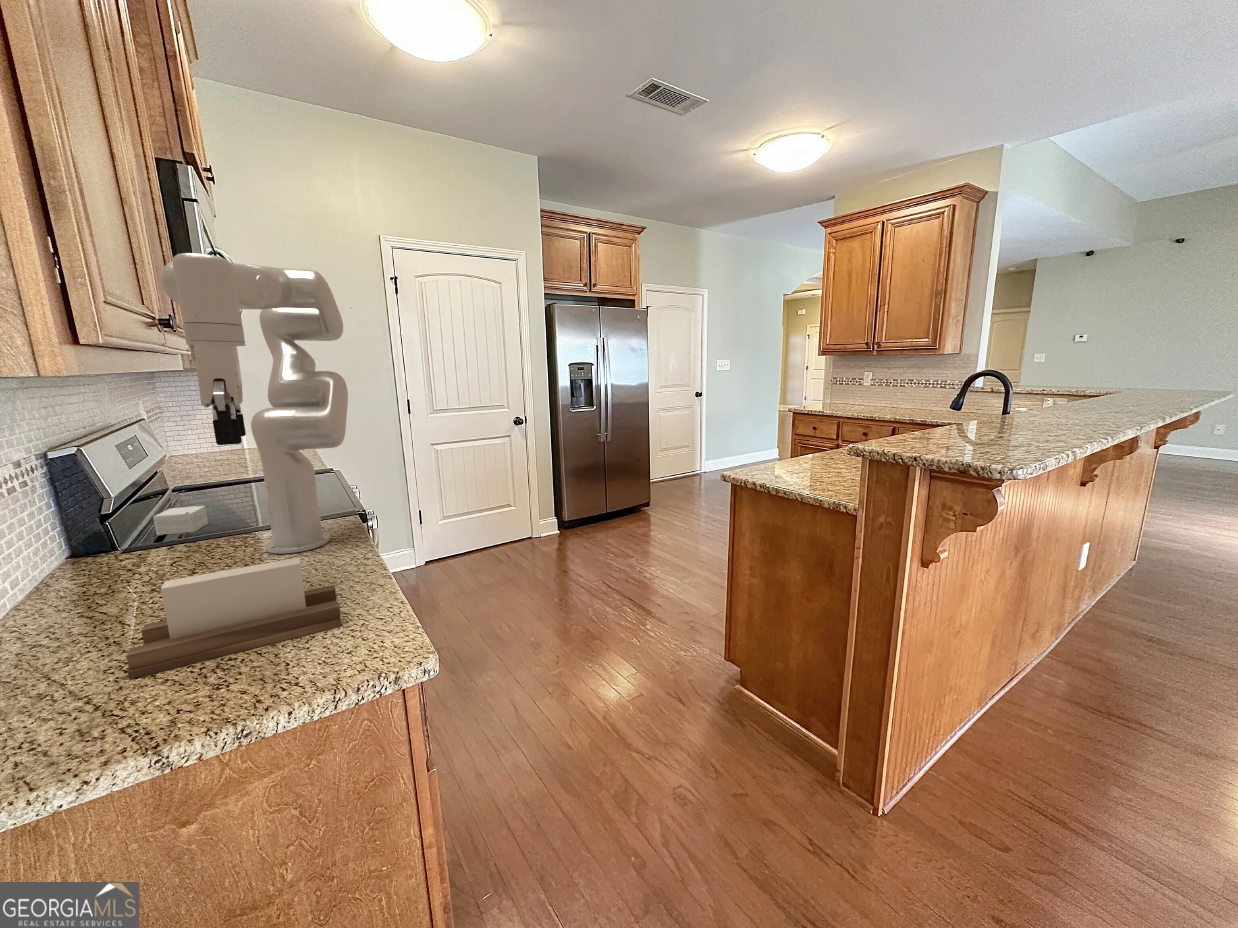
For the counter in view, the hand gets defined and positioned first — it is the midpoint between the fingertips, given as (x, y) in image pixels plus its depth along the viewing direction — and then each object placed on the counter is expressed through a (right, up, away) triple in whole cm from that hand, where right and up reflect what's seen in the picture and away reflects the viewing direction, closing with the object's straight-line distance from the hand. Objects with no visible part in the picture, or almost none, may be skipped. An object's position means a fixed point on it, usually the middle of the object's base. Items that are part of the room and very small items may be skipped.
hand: (232, 440), depth 82 cm
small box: (-45, -21, +41) cm, 65 cm away
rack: (+9, -30, -9) cm, 32 cm away
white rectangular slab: (+9, -29, -9) cm, 32 cm away
